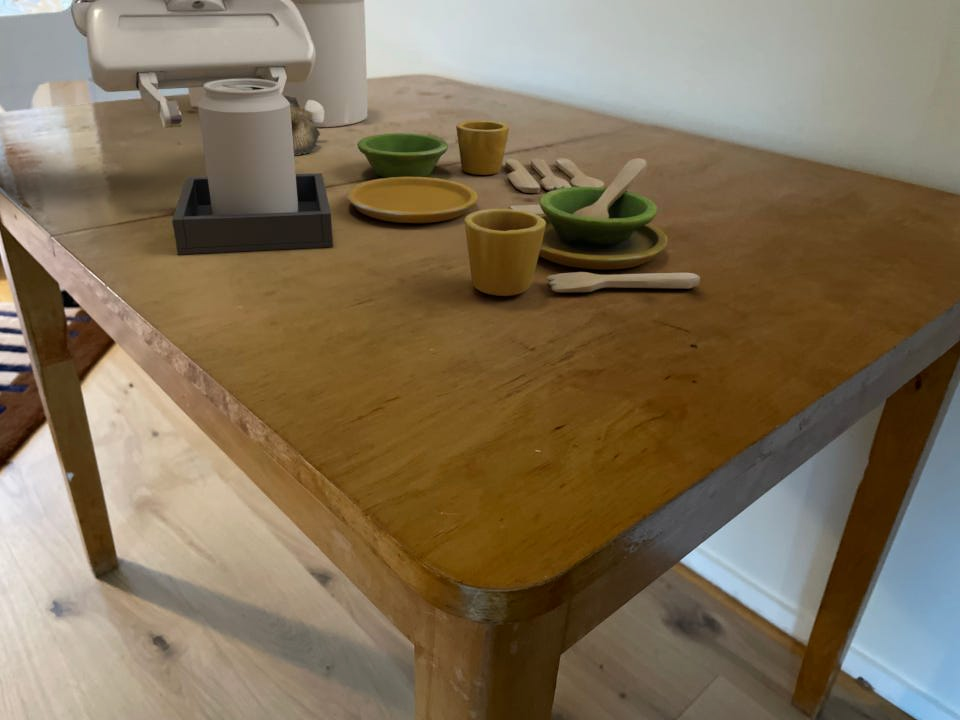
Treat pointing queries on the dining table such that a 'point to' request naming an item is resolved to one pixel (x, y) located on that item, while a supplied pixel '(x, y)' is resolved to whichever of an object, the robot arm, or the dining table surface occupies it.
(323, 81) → the utensil holder
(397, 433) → the dining table surface
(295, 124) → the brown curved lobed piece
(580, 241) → the tableware set
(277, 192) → the can
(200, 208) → the dark grey tray
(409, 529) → the dining table surface
